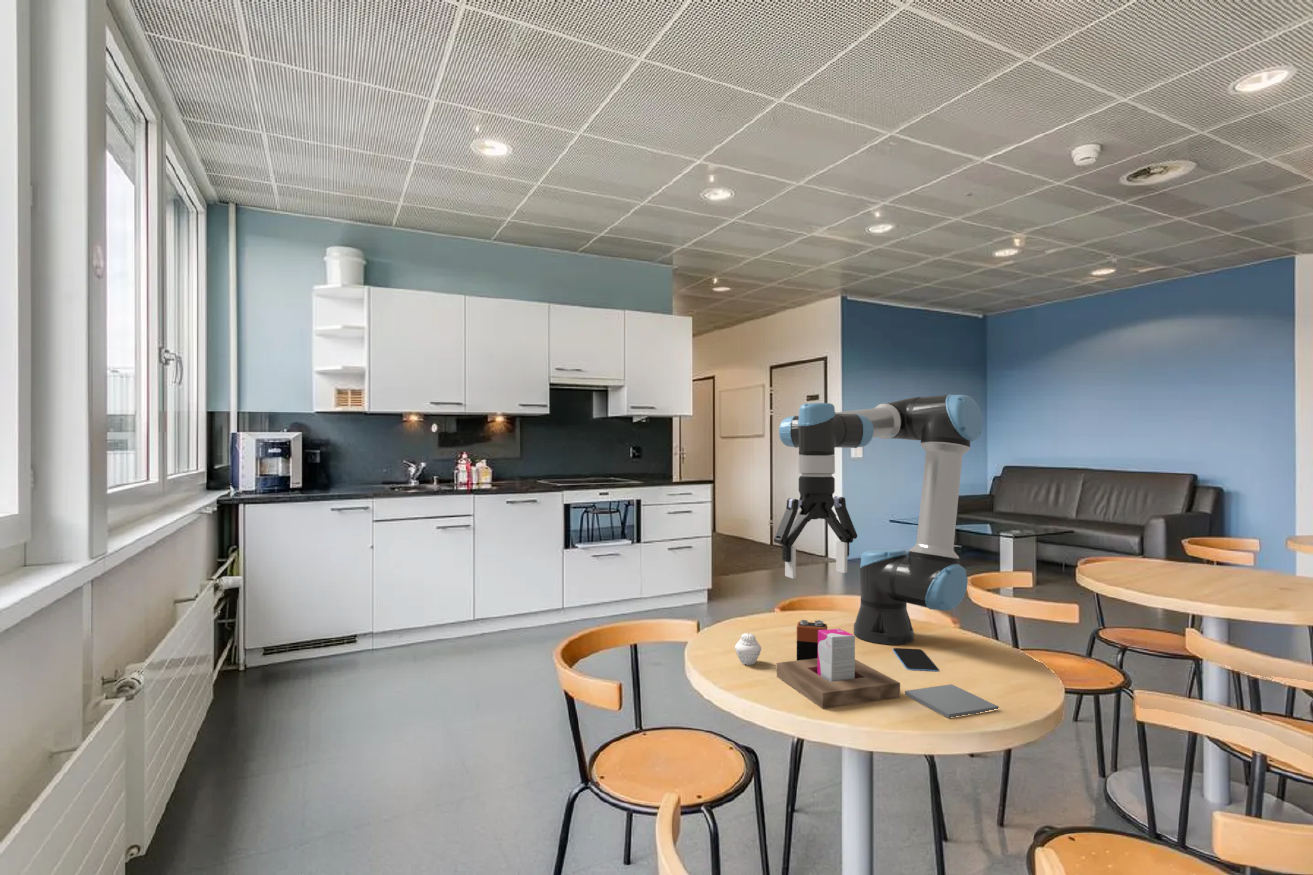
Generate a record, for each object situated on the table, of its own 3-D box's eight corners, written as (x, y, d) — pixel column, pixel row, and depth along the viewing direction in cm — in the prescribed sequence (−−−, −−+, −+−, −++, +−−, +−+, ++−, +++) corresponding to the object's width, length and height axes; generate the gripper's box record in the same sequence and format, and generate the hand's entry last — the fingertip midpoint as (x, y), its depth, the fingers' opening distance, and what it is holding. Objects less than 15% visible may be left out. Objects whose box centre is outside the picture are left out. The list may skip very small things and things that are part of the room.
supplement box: (855, 690, 133) (856, 635, 133) (830, 693, 131) (830, 637, 131) (840, 680, 139) (840, 627, 139) (816, 683, 137) (816, 629, 137)
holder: (846, 668, 146) (846, 654, 146) (899, 697, 129) (899, 682, 129) (776, 676, 141) (776, 662, 141) (822, 708, 124) (822, 693, 124)
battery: (826, 668, 146) (826, 624, 146) (796, 665, 148) (796, 622, 148) (827, 662, 150) (827, 619, 150) (797, 659, 152) (797, 617, 152)
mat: (951, 687, 135) (951, 684, 135) (998, 710, 123) (998, 706, 123) (904, 694, 131) (904, 690, 131) (948, 718, 119) (948, 714, 119)
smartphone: (906, 668, 145) (891, 647, 160) (906, 672, 145) (891, 650, 160) (941, 669, 144) (922, 648, 159) (941, 673, 144) (922, 651, 159)
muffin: (730, 660, 151) (730, 630, 151) (753, 657, 153) (753, 627, 154) (742, 668, 145) (742, 637, 146) (766, 665, 148) (766, 635, 148)
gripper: (850, 473, 146) (850, 566, 145) (757, 475, 135) (757, 576, 135) (873, 475, 139) (874, 572, 138) (778, 477, 128) (778, 583, 128)
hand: (816, 574), depth 137 cm, fingers open, 13 cm apart
